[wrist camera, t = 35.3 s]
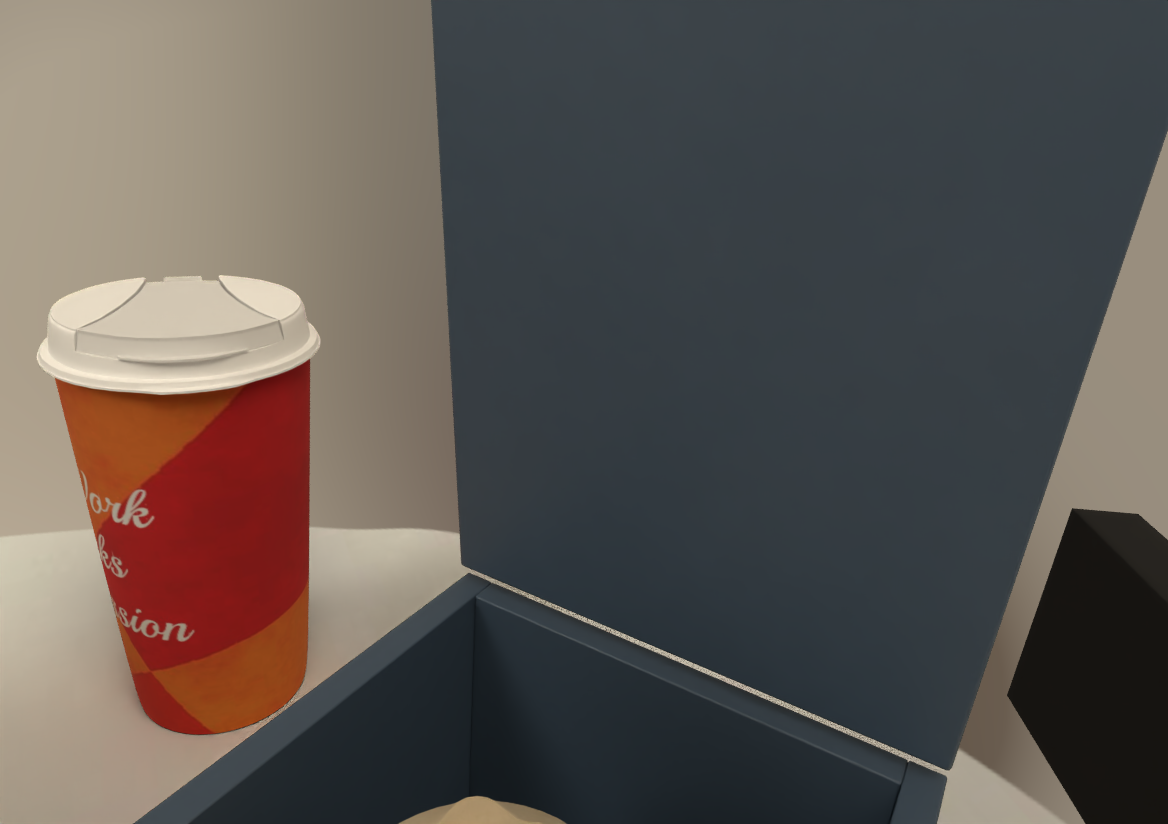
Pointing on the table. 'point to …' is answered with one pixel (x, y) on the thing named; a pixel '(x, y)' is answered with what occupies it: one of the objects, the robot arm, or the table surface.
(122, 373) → the coffee cup
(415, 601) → the table surface
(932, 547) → the box lid
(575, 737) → the open box
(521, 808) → the candle
